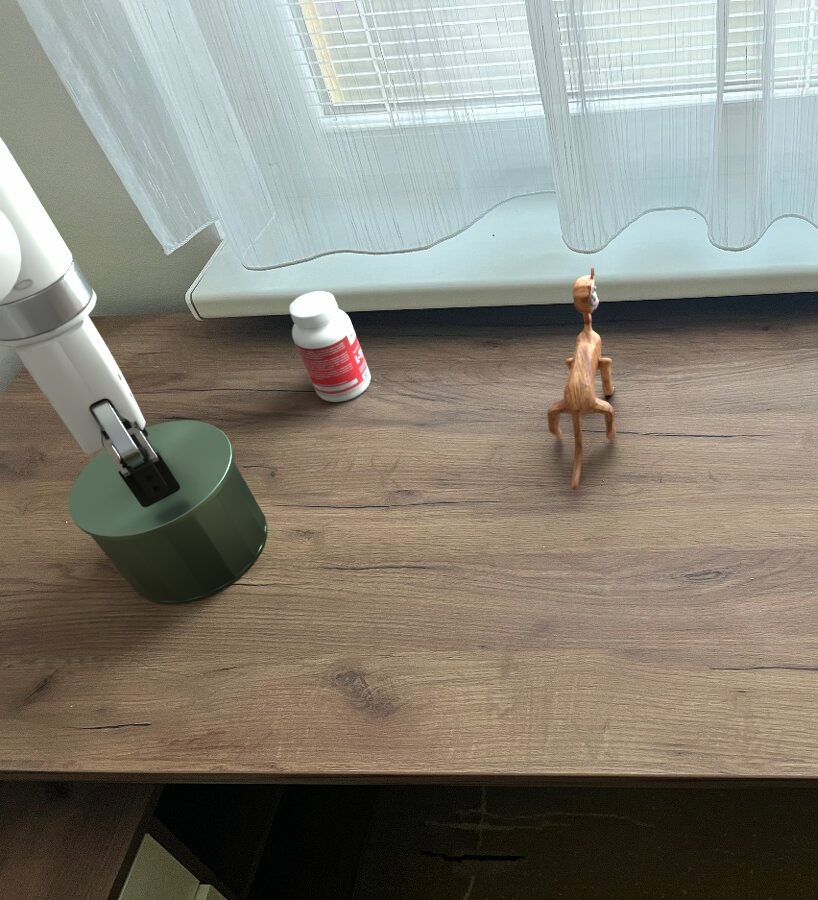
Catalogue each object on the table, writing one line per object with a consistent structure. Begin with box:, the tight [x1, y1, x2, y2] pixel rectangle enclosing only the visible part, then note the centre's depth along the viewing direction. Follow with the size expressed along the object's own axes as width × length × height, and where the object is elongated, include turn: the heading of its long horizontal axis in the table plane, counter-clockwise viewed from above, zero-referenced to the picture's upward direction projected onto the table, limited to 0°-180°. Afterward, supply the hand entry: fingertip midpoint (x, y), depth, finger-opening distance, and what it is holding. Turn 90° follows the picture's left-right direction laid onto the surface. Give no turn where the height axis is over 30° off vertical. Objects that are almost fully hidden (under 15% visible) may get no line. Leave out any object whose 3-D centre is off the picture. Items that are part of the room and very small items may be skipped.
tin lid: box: [67, 419, 235, 540], centre depth 73 cm, size 14×14×6 cm
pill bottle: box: [288, 290, 371, 403], centre depth 93 cm, size 6×6×11 cm
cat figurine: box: [546, 266, 617, 491], centre depth 83 cm, size 18×7×14 cm, turn 173°
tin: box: [91, 461, 268, 606], centre depth 78 cm, size 13×13×10 cm
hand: (145, 468), depth 74 cm, fingers open, 8 cm apart
